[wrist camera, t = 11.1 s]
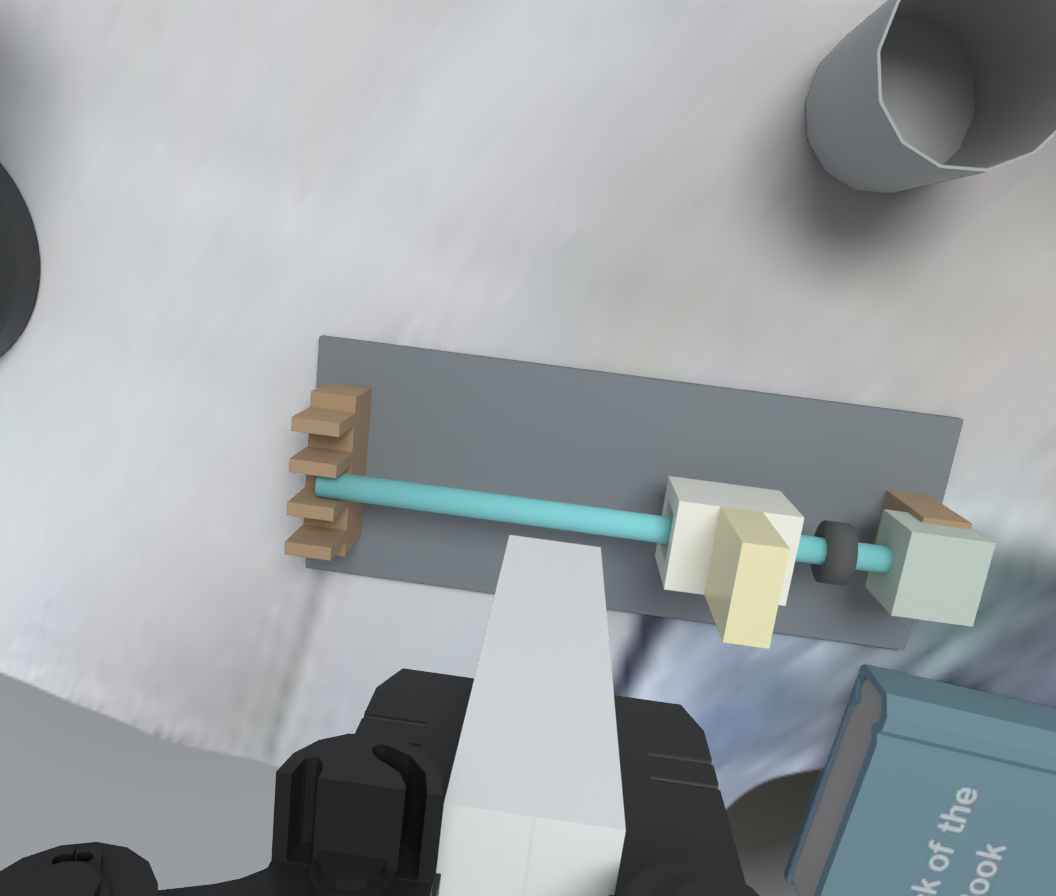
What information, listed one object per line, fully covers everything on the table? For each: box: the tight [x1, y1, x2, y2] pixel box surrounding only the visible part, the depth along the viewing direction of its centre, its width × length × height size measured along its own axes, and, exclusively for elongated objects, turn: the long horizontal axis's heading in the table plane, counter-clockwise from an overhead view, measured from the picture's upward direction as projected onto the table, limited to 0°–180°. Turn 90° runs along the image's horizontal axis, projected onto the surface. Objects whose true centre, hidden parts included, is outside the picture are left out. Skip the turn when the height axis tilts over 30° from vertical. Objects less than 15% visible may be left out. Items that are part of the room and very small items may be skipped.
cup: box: [805, 0, 1056, 193], centre depth 36 cm, size 8×8×10 cm
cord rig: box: [285, 335, 996, 650], centre depth 42 cm, size 36×14×7 cm, turn 83°
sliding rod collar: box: [655, 476, 804, 649], centre depth 38 cm, size 6×5×10 cm
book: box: [784, 665, 1056, 896], centre depth 47 cm, size 23×16×5 cm
